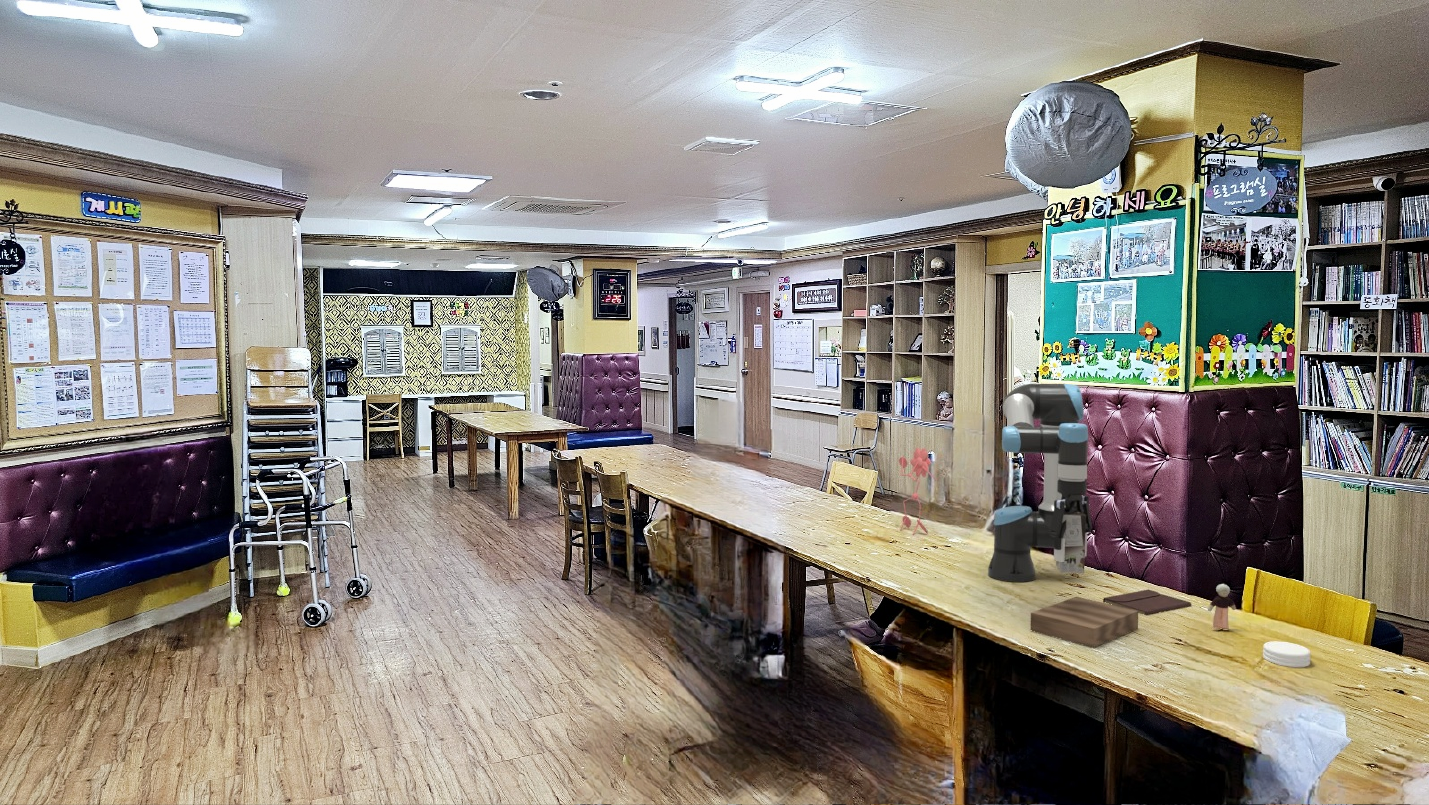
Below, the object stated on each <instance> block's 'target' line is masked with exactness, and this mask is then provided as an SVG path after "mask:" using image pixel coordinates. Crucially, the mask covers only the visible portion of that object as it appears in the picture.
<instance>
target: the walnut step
mask: <svg viewBox="0 0 1429 805" xmlns="http://www.w3.org/2000/svg"><path fill="white" fill-rule="evenodd" d="M1138 629H1139V613H1138V611H1137V610H1132V609H1128V608H1124V607H1119V606H1115V605H1111V604H1108V603H1105V602H1103V601H1102V602H1101V601H1097V600H1093V599H1088V598H1084V597H1080V596H1075V597H1072V598H1069V599H1065V600H1063V601H1060V602H1057V603H1055V604H1052V605H1049V606H1047V607H1046V606H1045V607H1043V608H1040V609H1037V610H1034V611H1032V612H1030V629H1029V630H1032V631H1031V632H1034V631H1035V632H1034V633H1037V632H1038V633H1037V634H1041V633H1042V635H1044V634H1045V636H1048V637H1052V636H1054V637H1053V638H1055V637H1057V638H1056V639H1059V638H1061V639H1060V640H1064V641H1066V640H1067V642H1070V641H1071V642H1070V643H1074V644H1077V645H1081V644H1083V645H1082V646H1085V645H1086V646H1085V647H1088V646H1090V647H1089V648H1092V647H1093V649H1094V647H1095V648H1097V647H1098V645H1099V646H1101V645H1104V644H1106V643H1108V642H1111V641H1113V640H1115V639H1117V637H1118V638H1120V637H1122V636H1124V635H1127V634H1130V633H1131V632H1134V631H1136V630H1138ZM1119 636H1120V637H1119ZM1100 644H1101V645H1100Z"/></svg>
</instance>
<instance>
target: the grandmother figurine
mask: <svg viewBox="0 0 1429 805" xmlns="http://www.w3.org/2000/svg"><path fill="white" fill-rule="evenodd" d="M1215 589H1216V592H1217V595H1218V596H1215V598H1213V599H1212V600H1211V602H1210V604H1209V606H1208V608H1207V611H1208V612H1211V611H1213V609H1214V607H1215V611H1214V613H1213V614H1214V615H1213V620H1212V621H1213V622H1212V627H1211V629H1212V628H1213V629H1214V630H1221V629H1220V628H1222V629H1229V630H1230V628H1229V626H1230V625H1229V624H1230V623H1229V606H1230V608H1231V610H1232V611H1235V610H1236V609H1237V607H1236V605H1235V602H1234V601H1233V599H1231V598H1230V597H1228V596H1229V594H1230V591H1231V589H1230V587H1229V586H1228V585H1227V584H1225V583H1221V584H1218V585H1217V586H1216V588H1215ZM1214 630H1213V631H1214ZM1221 631H1222V630H1221Z"/></svg>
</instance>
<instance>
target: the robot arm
mask: <svg viewBox="0 0 1429 805" xmlns="http://www.w3.org/2000/svg"><path fill="white" fill-rule="evenodd" d="M1083 402H1084V401H1083V396H1082V392H1081V389H1080V387H1079V386H1078V385H1076V384H1072V383H1071V384H1070V383H1069V384H1068V383H1027V384H1023V385H1020V386H1018V387H1016V388H1014V389H1013V390H1011V391H1010V392H1009V393H1008V394H1006V395H1005V398H1004V399H1003V402H1002V412H1003V415H1004V416H1005V417H1006V419H1007V420H1006V421H1007V426H1004V427H1003V428H1002V430H1001V432H1002V433H1001V447H1002V448H1001V449H1002V451H1004V452H1006V453H1013V454H1018V453H1019V454H1020V453H1021V454H1023V453H1024V454H1044V460H1043V461H1044V462H1043V463H1044V466H1043V467H1044V468H1043V469H1044V470H1043V501H1042V502H1041V503H1040V504H1039V505H1038V511H1033V509H1032V507H1030V506H1027V505H1014V506H1013V505H1011V506H1006V507H1001V508H999V509H997V510H996V512H995V513H994V522H993V525H994V536H993V537H994V538H993V540H994V541H993V554H992V557H991V559H990V561H989V562H990V563H989V565H988V570H987V576H988V577H991V578H992V579H995V580H998V581H1005V582H1013V583H1014V582H1015V583H1023V582H1029V581H1030V582H1031V581H1034V580H1036V569H1035V565H1034V562H1033V559H1032V556H1031V547H1033V548H1047V549H1048V548H1049V549H1053V561H1055V562H1056V561H1059V562H1064V559H1065V538H1063V536H1064V533H1065V530H1066V520H1065V521H1064V522H1063V523H1062V521H1063V516H1064V514H1068V515H1070V514H1073V513H1074V512H1078V511H1079V512H1083V513H1084V514H1085V515H1086V530H1085V557H1087V548H1088V546H1087V545H1088V541H1087V540H1088V534H1091V532H1092V529H1093V526H1092V525H1093V524H1092V518H1091V513H1090V511H1091V510H1090V506H1089V502H1090V499H1089V496H1086V494H1087V490H1088V488H1087V486H1088V484H1087V483H1088V482H1087V478H1088V449H1089V448H1088V445H1089V441H1088V440H1089V436H1090V435H1089V430H1088V425H1087V424H1085V423H1079V421H1080V422H1081V421H1083V420H1084V419H1085V418H1084V411H1085V410H1084V403H1083ZM1034 420H1040V423H1039V424H1040V426H1035V423H1034ZM1064 511H1065V512H1064Z"/></svg>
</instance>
